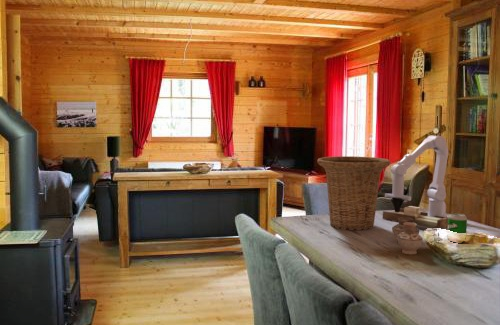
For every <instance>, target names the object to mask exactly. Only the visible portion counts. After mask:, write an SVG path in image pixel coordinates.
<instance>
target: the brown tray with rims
mask: <svg viewBox="0 0 500 325" xmlns="http://www.w3.org/2000/svg"><path fill="white" fill-rule="evenodd" d="M428 215H429V212H425V211H420V216H419V217H416V218H415V216H410V215H404V208H402V207H401V208H400V211H399V212H395V210H393V211H385V210H383V211H382V220H388V221H392V220H393V222H398V218H403V217H404V218H412V219H413V222H417V224H420V225H426V226H431V227H434V226H437V228H443V229H446V228H448V216H447V217H445V218H436V217H430V216H428Z"/></svg>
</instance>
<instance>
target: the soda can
mask: <svg viewBox="0 0 500 325" xmlns="http://www.w3.org/2000/svg"><path fill="white" fill-rule="evenodd" d="M447 217H448V227H447V230H450V231H453V232H457V233H466V234H467V229H468V228H467V224H468V218H467V216H466V215H465V214H463V213H456V212H455V213H450V214H449V215H447Z"/></svg>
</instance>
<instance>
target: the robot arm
mask: <svg viewBox="0 0 500 325" xmlns="http://www.w3.org/2000/svg"><path fill="white" fill-rule="evenodd" d="M447 142H448V141H447V140H446V138H445V137H444V136H442V135H432V134H431V135H427V137H426V138H424V139H423V141H422V142H421V143H420V144H419V145H418V147H416V148H415V150H413V151H412V153H411V154H410V153H408V154H404V155H403V158H402V159H400V161H397V164H396V163H394V165H393V166H392V167H391V169H390V171H391V173H392V189H391V190H392V192H391V193H386V192H385V193H384V198H389V199H391V200H390V202H392V205H393V208H394V211H395V212H399V211H400V208H401V209H402V204H403V203H404V202H405V201H409V202H410V201H412V196H409V195H405V194H404V189H405V187H404V186H405V175H406V173H407V171H408V170H409V169H410V168H411V166H413V165H414V164H415V163H416V160H417V158H418V157H419V156H420V155H421V156H422V154H424V152H426V151H427V150H430V149H432V150H433V151H434V152H436V157H435V159H436V160H435V164H434V166H435V167H434V171H433V179H432V182H431V183H430V184H429V188H428V189H427V190H426V191H427V192H426V196H427V197H428V216H430V217H432V216H441V217H448V215H446V209H447V204H446V202H445V199H446V198H447V192H446V185H445V184H444V182H445V181H444V180H445V177H446V176H445V175H446V169H447V164H448V163H447V162H448V156H449V147H448V145H447V144H448V143H447Z"/></svg>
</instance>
